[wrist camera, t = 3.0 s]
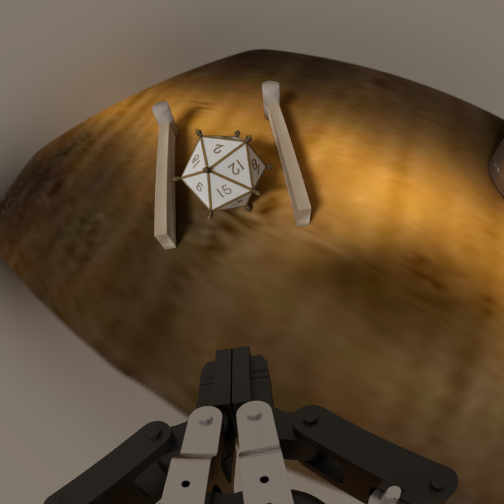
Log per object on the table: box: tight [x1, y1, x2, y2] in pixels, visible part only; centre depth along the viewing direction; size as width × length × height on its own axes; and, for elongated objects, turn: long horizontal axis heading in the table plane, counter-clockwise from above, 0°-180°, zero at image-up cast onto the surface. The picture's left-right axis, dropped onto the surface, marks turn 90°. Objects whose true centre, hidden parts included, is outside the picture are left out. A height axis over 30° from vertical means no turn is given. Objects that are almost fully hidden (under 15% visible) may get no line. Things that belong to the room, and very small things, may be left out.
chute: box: [152, 81, 311, 250], centre depth 32 cm, size 15×18×5 cm
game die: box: [172, 129, 274, 220], centre depth 29 cm, size 9×8×10 cm
